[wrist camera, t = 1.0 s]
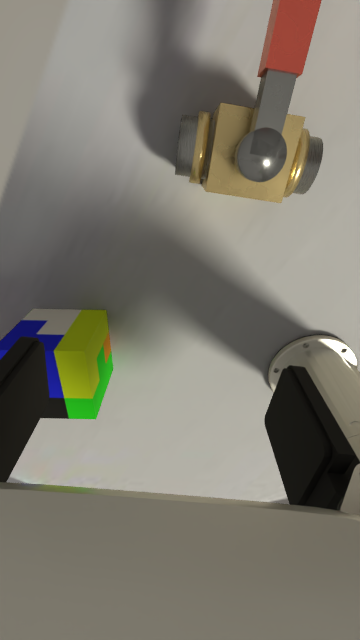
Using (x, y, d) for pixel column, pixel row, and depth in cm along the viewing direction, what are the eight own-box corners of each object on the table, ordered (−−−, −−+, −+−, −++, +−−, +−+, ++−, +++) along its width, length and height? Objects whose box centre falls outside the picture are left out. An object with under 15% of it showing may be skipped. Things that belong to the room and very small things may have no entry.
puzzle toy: (33, 308, 41) (-9, 349, 32) (106, 309, 41) (84, 351, 32) (47, 367, 46) (14, 417, 37) (113, 368, 45) (95, 419, 37)
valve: (309, 130, 30) (348, 121, 23) (289, 199, 34) (318, 210, 26) (183, 109, 30) (183, 93, 22) (175, 181, 33) (172, 187, 26)
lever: (333, -55, 19) (353, -83, 17) (271, 183, 25) (279, 185, 23) (278, -66, 19) (290, -97, 16) (229, 176, 25) (234, 178, 23)
